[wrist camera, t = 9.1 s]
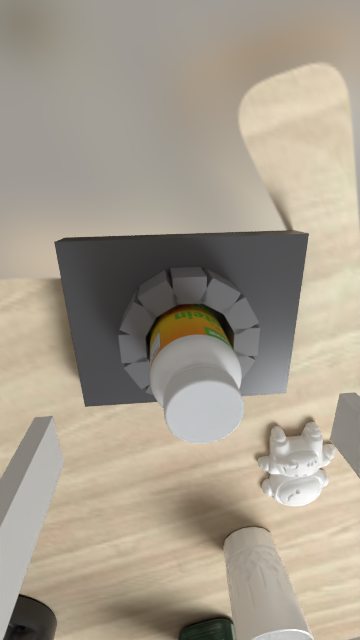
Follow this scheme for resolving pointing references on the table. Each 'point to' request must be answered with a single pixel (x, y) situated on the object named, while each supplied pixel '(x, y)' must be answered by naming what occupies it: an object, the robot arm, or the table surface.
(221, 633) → the coffee jar
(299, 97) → the table surface
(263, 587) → the white cup
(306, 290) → the table surface
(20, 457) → the robot arm
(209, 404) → the supplement bottle
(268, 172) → the table surface
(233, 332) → the square plate with collar
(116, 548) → the table surface
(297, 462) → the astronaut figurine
